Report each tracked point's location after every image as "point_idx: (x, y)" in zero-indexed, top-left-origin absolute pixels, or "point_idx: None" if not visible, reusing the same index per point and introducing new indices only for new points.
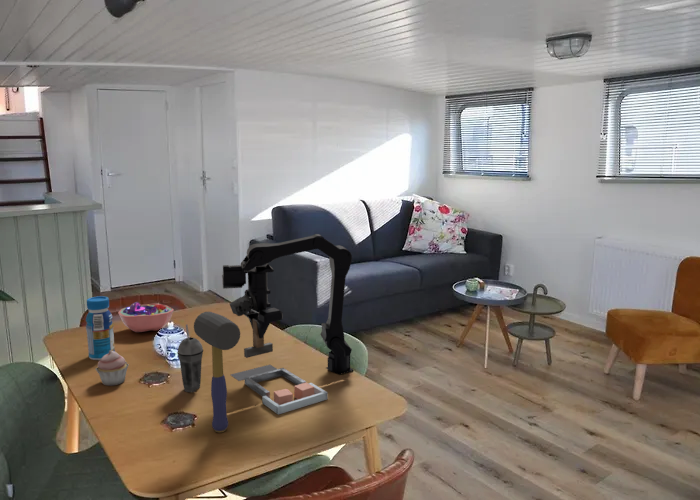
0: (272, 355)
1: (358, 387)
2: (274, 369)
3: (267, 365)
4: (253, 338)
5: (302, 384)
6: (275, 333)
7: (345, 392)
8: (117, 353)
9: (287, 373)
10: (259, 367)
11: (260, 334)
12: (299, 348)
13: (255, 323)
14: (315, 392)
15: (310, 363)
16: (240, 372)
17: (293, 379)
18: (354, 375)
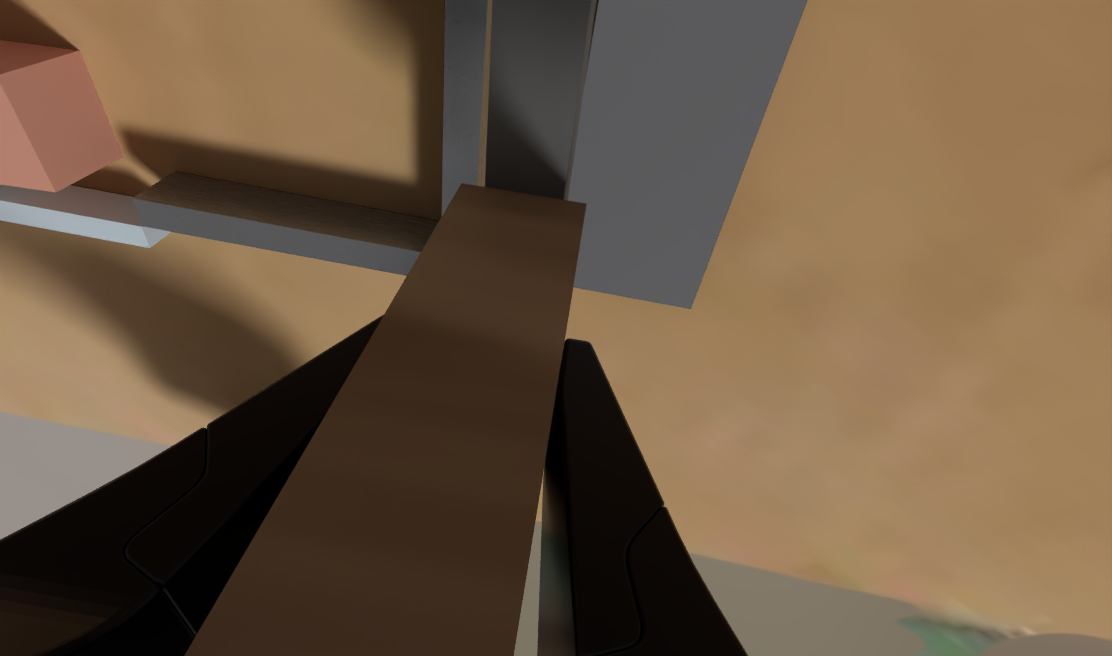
0: (817, 418)
1: (113, 383)
2: (589, 270)
3: (692, 287)
4: (552, 270)
5: (16, 146)
6: (1033, 602)
7: (67, 311)
8: None
9: (354, 239)
10: (715, 225)
11: (330, 359)
12: (745, 536)
13: (318, 569)
14: (74, 193)
15: None
16: (782, 29)
17: (273, 213)
18: None
